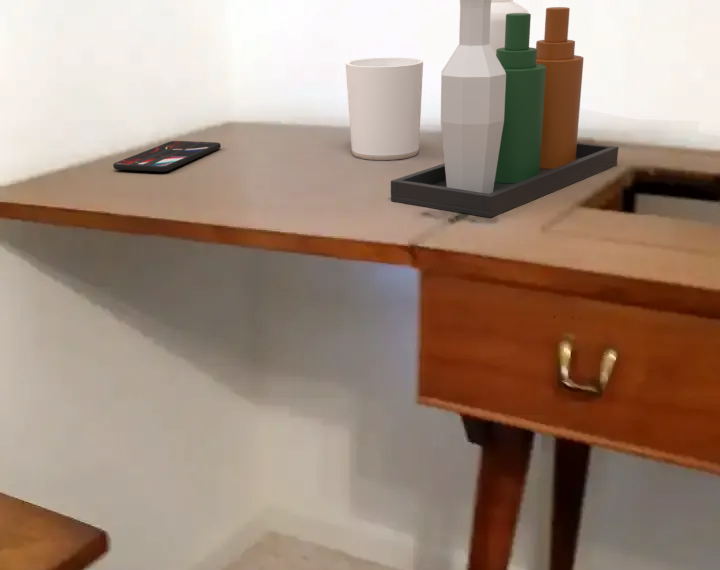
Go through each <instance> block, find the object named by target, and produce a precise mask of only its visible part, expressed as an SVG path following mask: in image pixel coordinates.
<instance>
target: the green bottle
mask: <svg viewBox="0 0 720 570" xmlns="http://www.w3.org/2000/svg"><path fill="white" fill-rule="evenodd" d="M531 18H532V14H531V13H529V12H528V13H510V14H506V26H505V48H499V49H497V50H496V56H497V58H498V60H499V62H500V63H501V65H502V67H503V68H504V70H505V72H506V88H505V111H504V124H503V130H502V137H501V143H500V149H499V156H498V162H497V168H496V175H495V181H494V182H495V183H504V184H515V183H518V182H521V181H523V180H526V179H528V178H531V177H534V176H536V175H539V174H540V160H541V144H542V128H543V112H544V96H545V79H546V66H545V65H542V64H536V60H537V49H536V47H532V46H531V47H530V39H531V38H530V37H531Z"/></svg>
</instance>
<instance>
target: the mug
mask: <svg viewBox="0 0 720 570" xmlns="http://www.w3.org/2000/svg"><path fill="white" fill-rule="evenodd" d="M345 75H346V87H347V88H346V90H347V101H348V102H347V104H348V116H349V130H350V143H351V144H350V145H351V153H352V155H353V156H354V157H355V158H357V159H363V160H368V161H369V160H370V161H395V160H396V161H397V160H404V159H410V158H413V157H415V156H417V155H418V153H419V151H420V135H421V117H422V116H421V114H422V95H423V92H422V91H423V75H424V61H423V60H422V59H418V58H412V57H370V58H369V57H368V58H360V59H352V60H348V61H346V62H345Z"/></svg>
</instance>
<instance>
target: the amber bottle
mask: <svg viewBox="0 0 720 570" xmlns="http://www.w3.org/2000/svg"><path fill="white" fill-rule="evenodd" d="M570 9H571V8H570V7H566V6H565V7H564V6H552V7H546V9H545V21H544V35H543V36H544V37H543V39H539V40H537V41H536V44H535V48H536V49H537V60H536V64H542V65H545V66H546V79H545V96H544V112H543V128H542V144H541V160H540V169H554V168H557V167H560V166H562V165H565V164H567V163H570V162H573V161H575V160H576V149H577V142H578V135H579V133H578V132H579V122H580V121H579V120H580V111H581V95H582V86H583V85H582V84H583V83H582V82H583V71H584V57H583V56H581V55H576V54H575V48H576V41H575V40H573V39H569V22H570Z"/></svg>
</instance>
